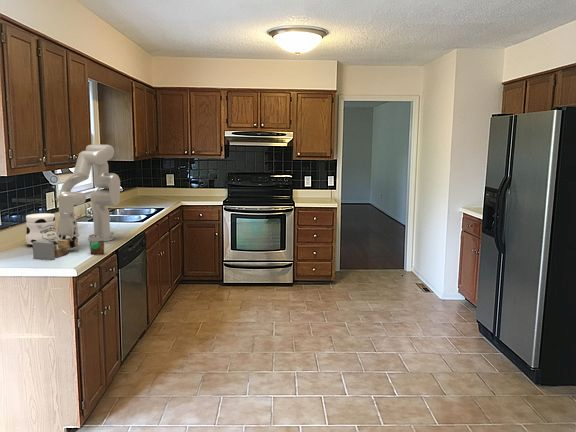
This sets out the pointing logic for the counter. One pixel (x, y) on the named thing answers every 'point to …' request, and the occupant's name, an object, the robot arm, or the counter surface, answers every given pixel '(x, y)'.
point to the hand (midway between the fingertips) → (68, 246)
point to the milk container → (41, 228)
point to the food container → (96, 244)
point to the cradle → (60, 251)
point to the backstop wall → (43, 250)
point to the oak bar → (66, 243)
